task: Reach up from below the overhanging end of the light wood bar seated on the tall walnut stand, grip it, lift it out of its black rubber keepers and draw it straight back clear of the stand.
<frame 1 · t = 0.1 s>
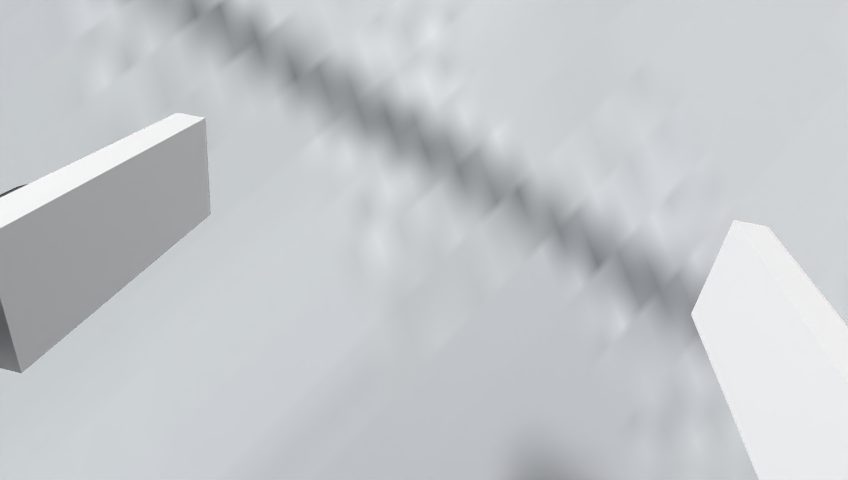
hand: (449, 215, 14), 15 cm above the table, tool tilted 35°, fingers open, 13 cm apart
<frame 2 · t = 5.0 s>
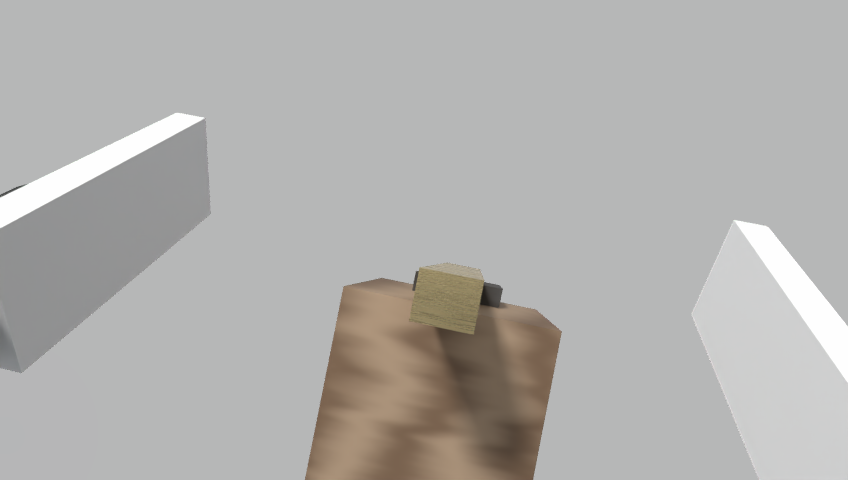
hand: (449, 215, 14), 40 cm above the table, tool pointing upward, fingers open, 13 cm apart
light wood bar: (452, 304, 39), point 36 cm above the table, touching walnut stand
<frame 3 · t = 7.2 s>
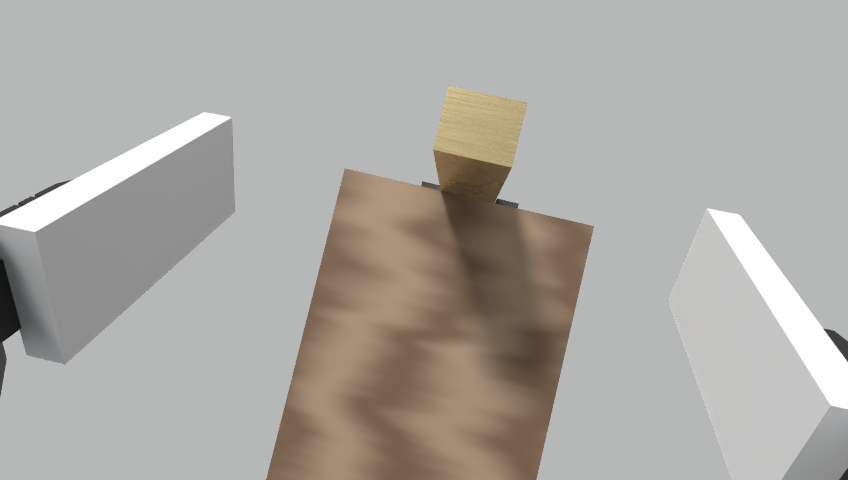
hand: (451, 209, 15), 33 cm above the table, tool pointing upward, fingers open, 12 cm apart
light wood bar: (466, 204, 34), point 36 cm above the table, touching walnut stand
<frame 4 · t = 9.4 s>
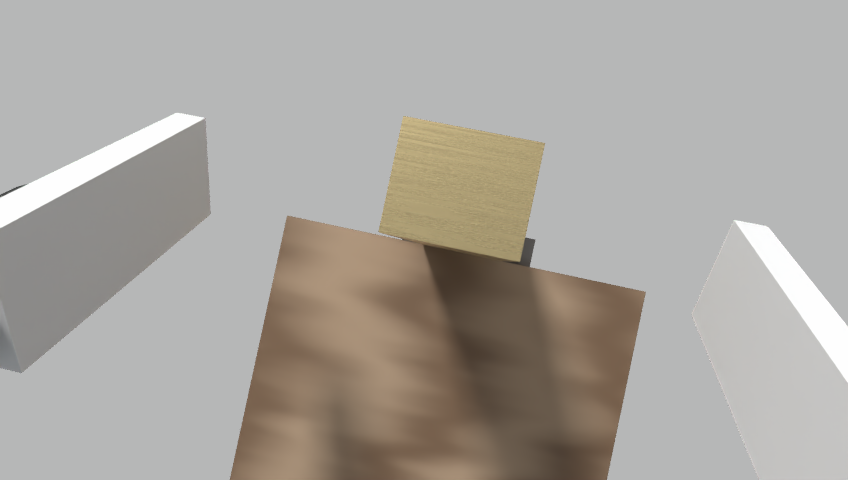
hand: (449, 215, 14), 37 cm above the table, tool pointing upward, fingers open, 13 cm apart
light wood bar: (462, 253, 25), point 36 cm above the table, touching walnut stand
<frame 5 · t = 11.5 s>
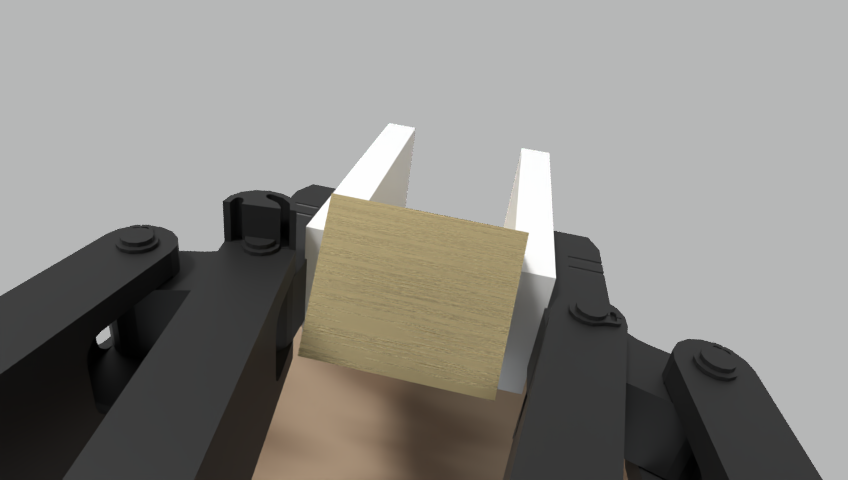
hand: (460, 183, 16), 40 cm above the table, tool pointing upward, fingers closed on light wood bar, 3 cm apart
light wood bar: (441, 305, 21), point 36 cm above the table, touching gripper, walnut stand
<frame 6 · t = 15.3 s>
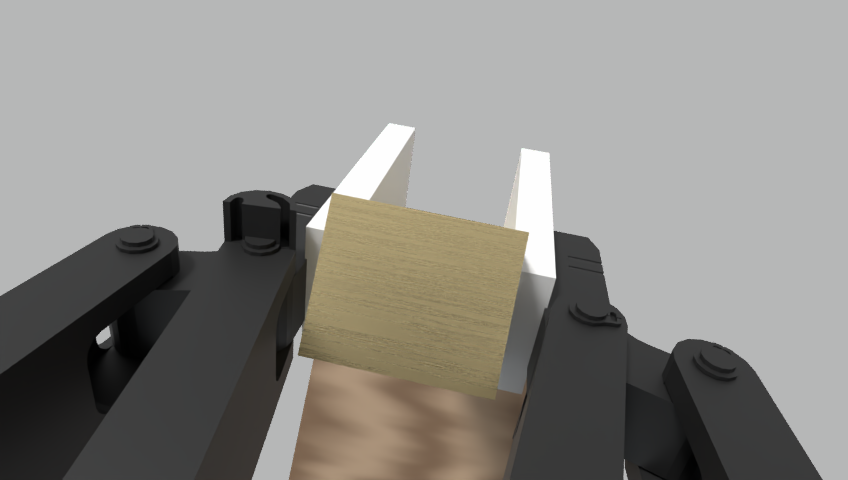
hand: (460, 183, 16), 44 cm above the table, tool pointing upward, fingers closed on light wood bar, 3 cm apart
light wood bar: (441, 305, 21), point 40 cm above the table, touching gripper
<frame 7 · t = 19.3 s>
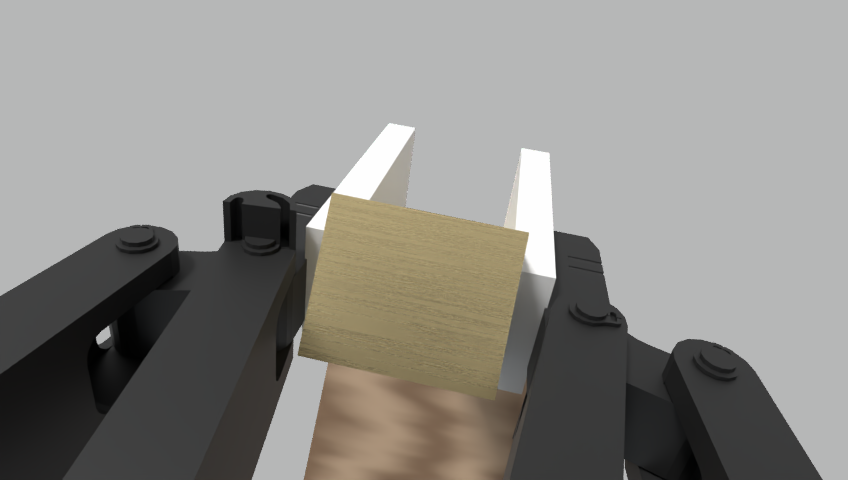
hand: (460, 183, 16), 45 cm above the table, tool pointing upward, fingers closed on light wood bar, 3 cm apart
light wood bar: (441, 305, 21), point 41 cm above the table, touching gripper
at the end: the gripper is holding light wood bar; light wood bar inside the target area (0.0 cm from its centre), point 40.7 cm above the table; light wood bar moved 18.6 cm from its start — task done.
